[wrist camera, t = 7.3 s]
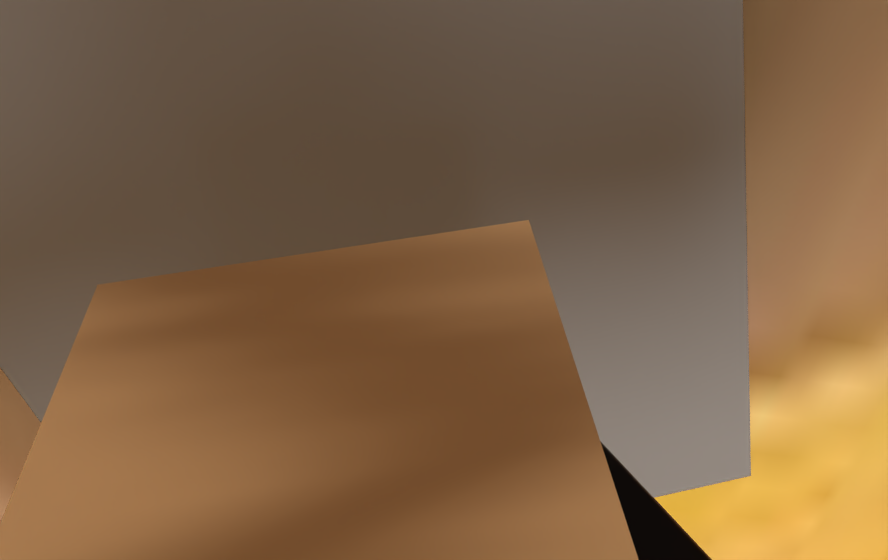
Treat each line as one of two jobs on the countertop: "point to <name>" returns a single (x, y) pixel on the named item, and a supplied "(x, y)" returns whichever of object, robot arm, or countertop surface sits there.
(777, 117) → the countertop surface
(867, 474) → the countertop surface
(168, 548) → the beech block
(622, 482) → the robot arm
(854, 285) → the countertop surface
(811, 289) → the countertop surface
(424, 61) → the grey riser
